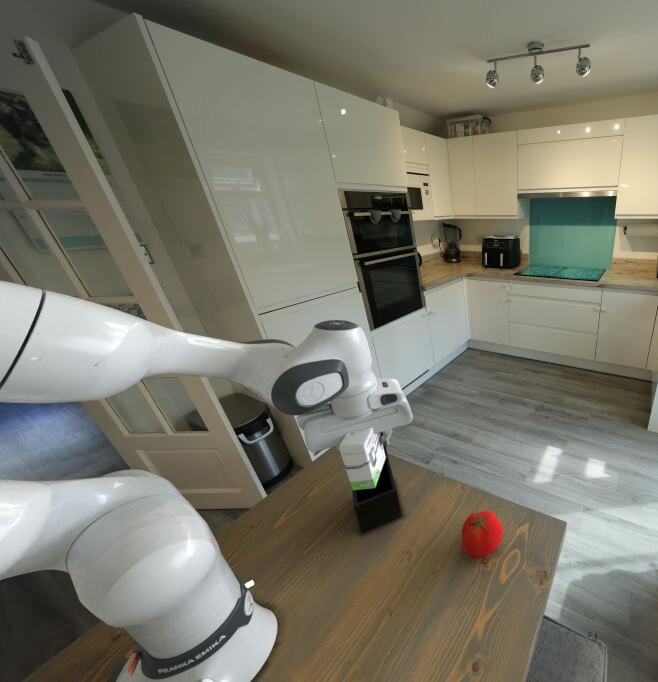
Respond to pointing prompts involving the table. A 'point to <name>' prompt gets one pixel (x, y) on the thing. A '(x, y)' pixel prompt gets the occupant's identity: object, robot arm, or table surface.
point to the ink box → (362, 458)
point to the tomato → (481, 534)
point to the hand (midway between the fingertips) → (368, 449)
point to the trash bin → (377, 501)
